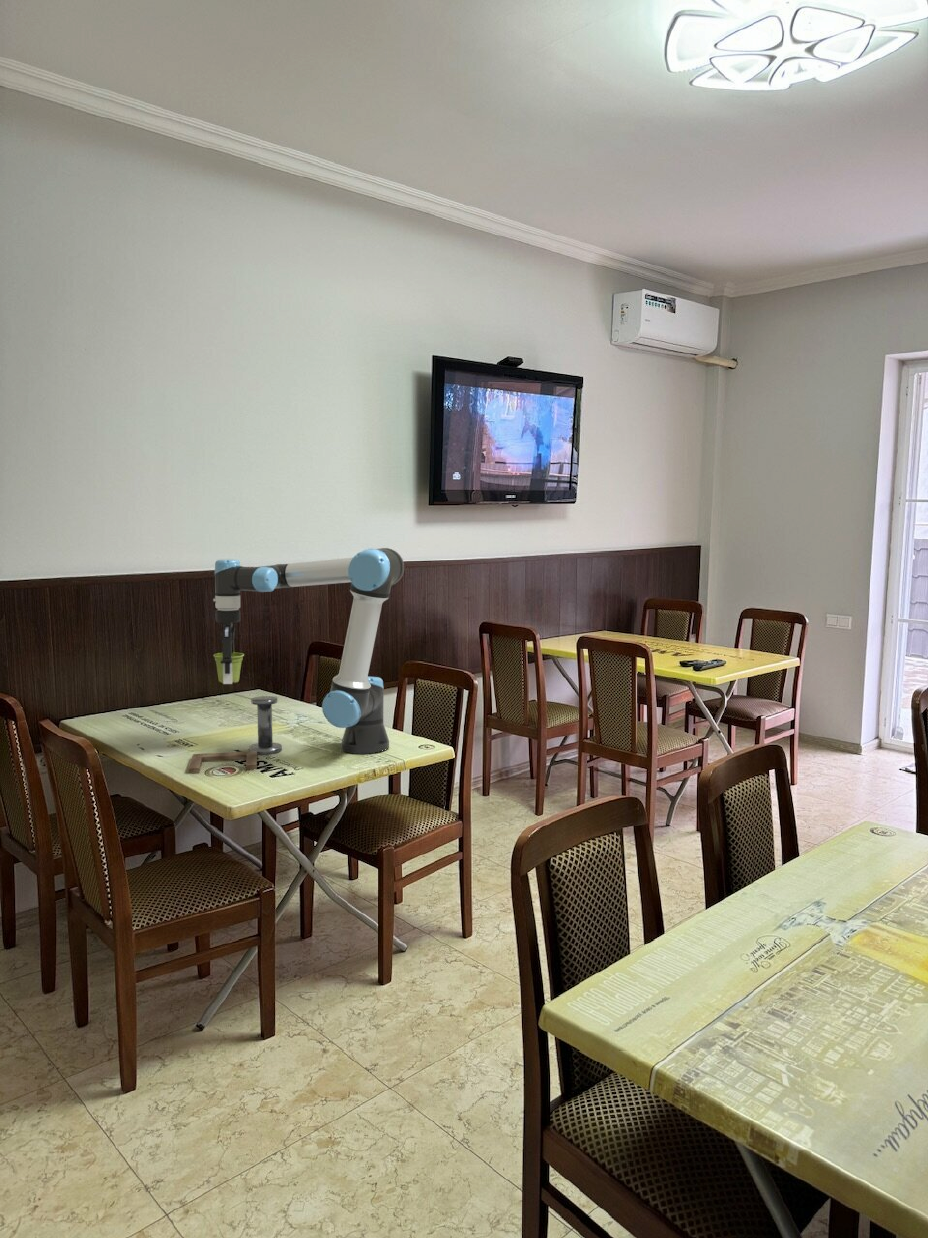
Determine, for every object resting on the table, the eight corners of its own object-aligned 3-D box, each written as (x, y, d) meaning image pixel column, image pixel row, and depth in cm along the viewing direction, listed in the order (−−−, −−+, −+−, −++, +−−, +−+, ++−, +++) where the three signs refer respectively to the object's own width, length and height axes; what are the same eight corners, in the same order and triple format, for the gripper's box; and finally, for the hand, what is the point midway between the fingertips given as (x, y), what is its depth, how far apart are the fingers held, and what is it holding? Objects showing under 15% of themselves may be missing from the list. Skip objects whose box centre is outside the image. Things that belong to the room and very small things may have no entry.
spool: (281, 746, 285) (280, 694, 283) (282, 754, 275) (280, 701, 273) (249, 747, 282) (248, 696, 281) (248, 756, 273) (247, 702, 271)
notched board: (257, 755, 273) (257, 750, 273) (256, 769, 258) (256, 764, 258) (192, 759, 269) (192, 754, 269) (188, 773, 254) (188, 768, 254)
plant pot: (249, 679, 283) (248, 652, 282) (237, 685, 273) (237, 657, 272) (220, 678, 284) (220, 651, 283) (208, 684, 274) (208, 656, 273)
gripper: (218, 605, 285) (219, 675, 288) (212, 612, 265) (213, 687, 267) (242, 605, 287) (243, 674, 289) (238, 612, 266) (239, 687, 269)
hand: (228, 681), depth 278 cm, fingers closed on plant pot, 8 cm apart
